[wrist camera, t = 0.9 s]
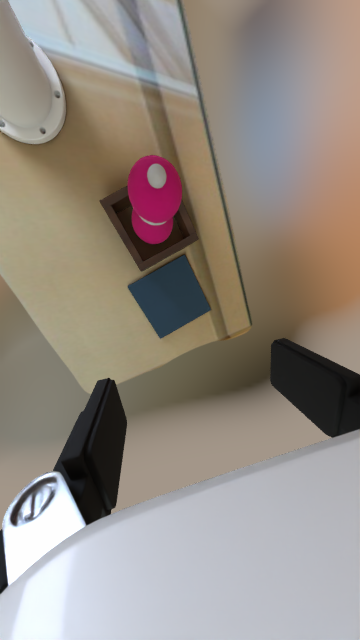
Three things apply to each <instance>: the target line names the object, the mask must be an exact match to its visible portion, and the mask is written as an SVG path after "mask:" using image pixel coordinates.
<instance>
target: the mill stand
mask: <svg viewBox="0 0 360 640" xmlns="http://www.w3.org/2000/svg"><path fill="white" fill-rule="evenodd" d="M100 203H101V205H102V206H103V208H104V210H105V211H106V213H107V215H108V217H109V218H110V220H111V222H112V223H113V225H114V227H115V228H116V230H117V232H118V234H119V235H120V237H121V239H122V240H123V242H124V244H125V246H126V247H127V249H128V251H129V252H130V254H131V256H132V257H133V259H134V261H135V263H136V264H137V266H138V268H139V269H140V271H141V272H142V271H144V270H146V269H147V268H149V267H151V266H153V265H155V264H156V263H158V262H160V261H162V260H163V259H165V258H167V257H169V256H171V255H172V254H174V253H176V252H178V251H180V250H181V249H183V248H185V247H187V246H188V245H190V244H192V243H194V242H195V241H197V240H198V239H199V238H198V236H197V234H196V231H195V229H194V227H193V224H192V222H191V220H190V217H189V215H188V213H187V211H186V208H185V206H184V204H183V201H182V199H181V203H180V206H179V209H178V211H177V212H176V214H175V215H174V217H175V219H176V221H177V224H178V226H179V228H180V230H181V232H182V234H183V237H184V239H183V240H181V241H179V242H178V243H176V244H174V245H172V246H171V247H169V248H167V249H165V250H163V251H162V252H160V253H158V254H156V255H154V256H153V257H151V258H149V259H147V260H145V261H144V262H143V261H142V259H141V257H140V255H139V254H138V252H137V250H136V248H135V247H134V245H133V243H132V241H131V240H130V238H129V236H128V234H127V233H126V231H125V229H124V227H123V225H122V224H121V222H120V220H119V218H118V217H117V215H116V214H117V213H118V212H120V211H122V210H124V209H126V208H128V207H129V206H131V205H132V204H131V202H130V199H129V195H128V186H126V187H124V188H122V189H120V190H118V191H116V192H115V193H113V194H111V195H109V196H107V197H105V198H104V199H102V200H100Z"/></svg>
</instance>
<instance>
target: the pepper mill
mask: <svg viewBox="0 0 360 640" xmlns="http://www.w3.org/2000/svg"><path fill="white" fill-rule="evenodd" d="M127 186H128V195H129V199H130V202H131V204H132V206H133V211H132V225H133V228H134V231H135V232H136V234H137V235H138V237H139V238H141V239H142V240H143V241H144V242H146V243H149V244H158V243H161V242H163V241H165V240H166V239H167V238H168V237H169V235H170V233H171V231H172V227H173V216H174V215H175V214H176V212H177V211H178V209H179V206H180V203H181V199H182V185H181V181H180V177H179V175H178V173H177V171H176V169H175V168H174V166H173V165H172V164H171V163H170V162H169V161H167V160H166V159H164V158H162V157H159V156H155V155H150V156H145V157H143V158H141V159H139V160H138V161H137V162H136V163H135V164H134V166H133V167H132V169H131V171H130V174H129V177H128V185H127Z"/></svg>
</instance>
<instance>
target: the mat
mask: <svg viewBox="0 0 360 640" xmlns="http://www.w3.org/2000/svg"><path fill="white" fill-rule="evenodd" d="M128 288H129V290H130V292H131V293H132V295H133V296H134V298H135V300H136V301H137V303H138V304H139V306H140V307H141V309H142V311H143V312H144V314H145V315H146V317H147V318H148V320H149V322H150V323H151V325H152V326H153V328H154V330H155V331H156V333H157V334H158V336H159V337H160V339H161V338H163V337H164V336H166V335H168V334H170V333H171V332H173V331H175V330H177V329H178V328H180V327H182V326H184V325H185V324H187V323H189V322H191V321H192V320H194V319H196V318H198V317H199V316H201V315H203V314H205V313H206V312H208V311H210V310H211V309H210V307H209V304H208V302H207V300H206V298H205V296H204V294H203V292H202V290H201V288H200V286H199V284H198V281H197V279H196V277H195V275H194V273H193V271H192V269H191V267H190V265H189V263H188V260H187V258H186V256H185V255H183V256H181V257H179V258H177V259H176V260H174V261H172V262H170V263H168V264H167V265H165V266H163V267H161V268H160V269H158V270H156V271H154V272H152V273H151V274H149V275H147V276H145V277H144V278H142V279H140V280H138V281H136V282H135V283H133V284H131V285H129V286H128Z"/></svg>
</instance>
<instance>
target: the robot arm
mask: <svg viewBox="0 0 360 640" xmlns="http://www.w3.org/2000/svg"><path fill="white" fill-rule="evenodd" d="M65 116H66V100H65V93H64V90H63V87H62V84H61V81H60V79H59V77H58V74H57V72H56V70H55V68H54V67H53V65H52V63H51V61H50V60H49V58H48V57H47V56H46V54H45V53H44V51H43V50H42V49H41V48H40V47H39V46H38V45H37V44H36V43H35V42H34V41H33V40H32V39H30V38H29V37H28V36H27V35H25V33H24V31H23V29H22V27H21V25H20V23H19V21H18V19H17V17H16V15H15V13H14V12H13V10H12V8H11V6H10V4H9V2H8V0H0V131H2V132H3V133H4V134H6V135H8V136H9V137H11V138H13V139H15V140H17V141H20V142H23V143H27V144H41V143H45V142H47V141H50V140H51V139H53V138H54V137H55V136H56V135H57V134H58V133H59V131H60V130H61V128H62V126H63V124H64V121H65ZM270 378H271V384H272V385H273V386H274V387H275V388H276V389H277V390H278V391H279V392H280V393H281V394H282V395H283V396H284V397H286V398H287V399H288V400H289V401H290V402H291V403H292V404H293V405H294V406H295V407H296V408H298V409H299V410H300V411H301V412H302V413H303V414H304V415H305V416H306V417H307V418H308V419H310V420H311V421H312V422H313V423H314V424H315V425H316V426H317V427H318V428H320V429H321V430H322V431H323V432H324V433H325V434H326V435H328V436H331V437H332V438H331V439H328V440H325V441H321V442H319V443H315V444H312V445H309V446H306V447H303V448H300V449H297V450H294V451H291V452H288V453H285V454H282V455H279V456H276V457H273V458H270V459H267V460H264V461H261V462H258V463H255V464H252V465H249V466H246V467H243V468H240V469H237V470H234V471H231V472H228V473H225V474H222V475H219V476H216V477H213V478H210V479H207V480H204V481H202V482H198V483H195V484H193V485H189V486H187V487H184V488H181V489H178V490H175V491H172V492H169V493H166V494H163V495H161V496H158V497H155V498H152V499H150V500H147V501H144V502H142V503H139V504H136V505H133V506H130V507H128V508H125V509H123V510H120V511H118V512H115V513H113V514H111V509H113V508H115V506H116V502H117V495H118V488H119V480H120V473H121V465H122V458H123V450H124V443H125V435H126V428H127V420H126V416H125V412H124V409H123V406H122V403H121V400H120V396H119V393H118V390H117V387H116V384H115V381H114V380H111V379H110V378H107V379H103V380H99V381H97V383H96V385H95V388H94V390H93V392H92V394H91V396H90V399H89V401H88V403H87V405H86V407H85V409H84V411H83V412H81V413H80V415H79V417H78V419H77V421H76V423H75V425H74V427H73V430H72V432H71V434H70V436H69V438H68V440H67V442H66V444H65V446H64V449H63V451H62V453H61V455H60V457H59V459H58V461H57V463H56V465H55V467H54V470H53V471H51V472H47V473H45V474H43V475H41V476H39V477H37V478H36V479H34V480H33V481H32V482H30V483H29V484H28V485H27V486H26V487H25V488H24V489H23V490H22V491H21V492H20V493H19V494H18V495H17V496H16V498H15V499H14V500H13V502H12V503H11V505H10V506H9V508H8V510H7V512H6V514H5V517H4V519H3V527H2V529H1V531H0V640H360V375H359V374H357V373H355V372H353V371H351V370H349V369H347V368H345V367H343V366H341V365H339V364H337V363H335V362H333V361H331V360H329V359H327V358H324V357H322V356H320V355H318V354H316V353H314V352H312V351H310V350H308V349H306V348H304V347H302V346H300V345H298V344H296V343H294V342H292V341H290V340H288V339H285V338H282V339H278V340H274V342H273V343H272V345H271V377H270Z"/></svg>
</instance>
